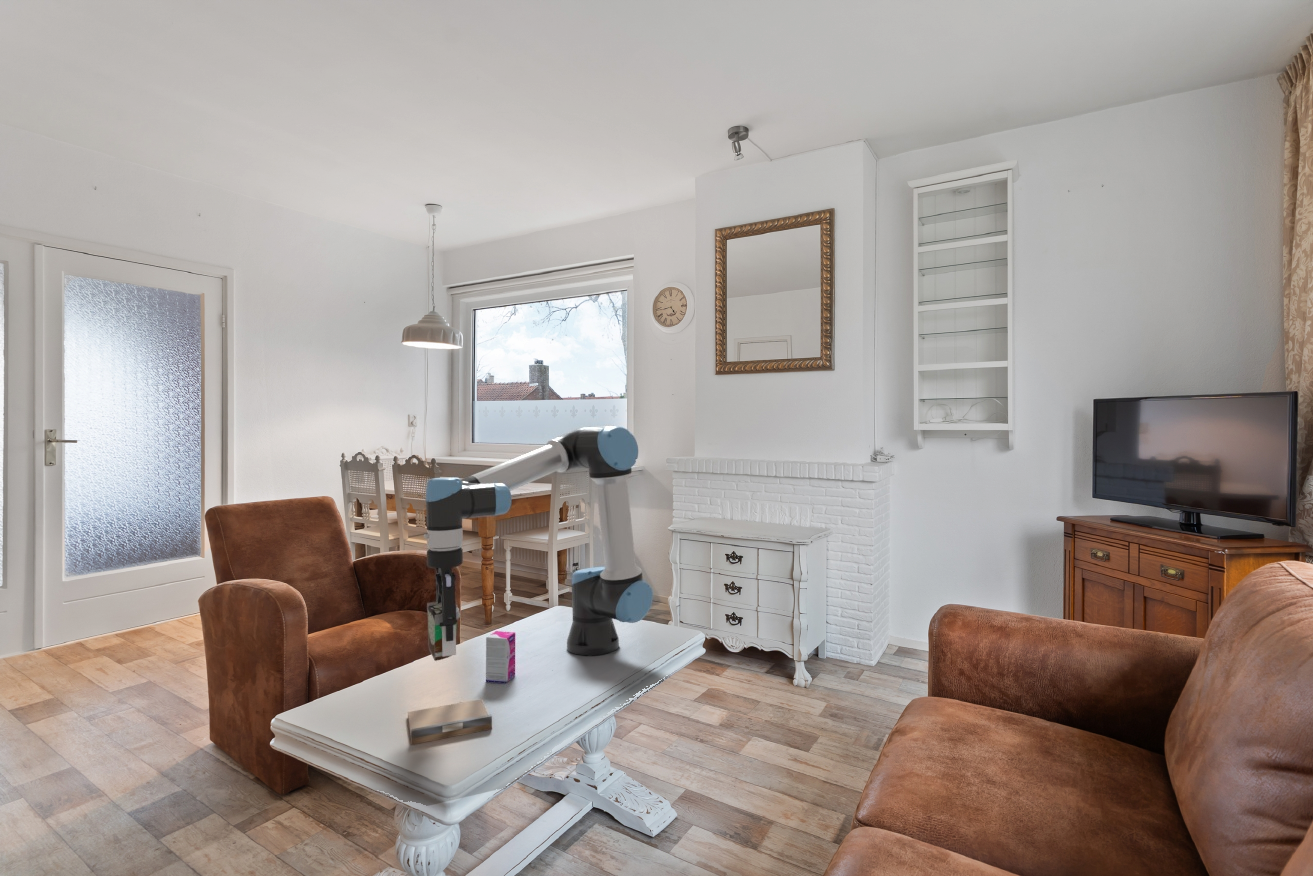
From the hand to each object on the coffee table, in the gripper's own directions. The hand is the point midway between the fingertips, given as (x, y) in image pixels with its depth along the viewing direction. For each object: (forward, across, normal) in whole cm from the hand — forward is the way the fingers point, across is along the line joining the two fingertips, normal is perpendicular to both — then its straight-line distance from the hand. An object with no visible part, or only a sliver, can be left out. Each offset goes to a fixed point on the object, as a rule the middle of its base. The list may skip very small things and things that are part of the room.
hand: (446, 647), depth 142 cm
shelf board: (+16, +2, 0) cm, 16 cm away
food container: (+1, 0, 0) cm, 1 cm away
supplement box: (+16, -18, +15) cm, 29 cm away
